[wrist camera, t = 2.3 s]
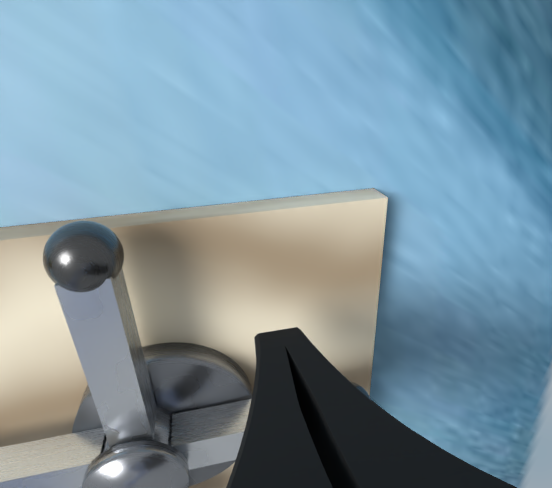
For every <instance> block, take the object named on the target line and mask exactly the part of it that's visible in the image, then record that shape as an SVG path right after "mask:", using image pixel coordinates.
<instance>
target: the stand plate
mask: <svg viewBox="0 0 552 488" xmlns="http://www.w3.org/2000/svg"><path fill="white" fill-rule="evenodd" d="M387 202H388V197H386V196H385V195H383V194H382V193H380V192H379V191H377V190H376V189H374V188H372V189H362V190H353V191H343V192H334V193H324V194H315V195H305V196H296V197H286V198H276V199H267V200H257V201H248V202H238V203H229V204H219V205H210V206H200V207H191V208H181V209H172V210H162V211H153V212H143V213H134V214H124V215H115V216H105V217H96V218H86V219H77V220H67V221H58V222H48V223H38V224H29V225H19V226H10V227H0V447H5V446H10V445H15V444H20V443H26V442H31V441H36V440H41V439H46V438H51V437H57V436H62V435H67V434H72V429H73V424H74V421H75V418H76V415H77V412H78V409H79V406H80V403H81V399H82V396H83V393H84V391H85V389H86V387H87V385H88V383H87V380H86V377H85V374H84V371H83V368H82V365H81V362H80V360H79V357H78V354H77V351H76V348H75V345H74V342H73V339H72V336H71V334H70V331H69V328H68V325H67V322H66V319H65V316H64V313H63V310H62V307H61V305H60V302H59V299H58V296H57V293H56V290H55V287H54V285H55V283H54V282H53V281H52V280H51V279H50V278H49V276H48V275H47V273H46V271H45V268H44V265H43V250H44V246H45V244H46V242H47V240H48V239H49V237H50V236H51V235H52V234H53V233H54V232H55V231H56V230H57V229H58V228H60V227H62V226H64V225H66V224H68V223H71V222H76V221H93V222H97V223H100V224H102V225H104V226H106V227H108V228H109V229H111V230H112V231H113V232H114V233H115V234H116V235H117V237H118V238H119V240H120V242H121V244H122V246H123V250H124V263H123V267H122V269H123V273H124V277H125V281H126V285H127V289H128V293H129V297H130V301H131V305H132V309H133V313H134V317H135V321H136V325H137V329H138V333H139V337H140V342H141V346H142V347H144V346H148V345H153V344H159V343H168V342H182V343H193V344H198V345H203V346H206V347H209V348H212V349H215V350H217V351H219V352H221V353H223V354H225V355H227V356H228V357H230V358H231V359H232V360H234V361H235V362H236V363H237V364H238V365H239V366H240V367H241V368H242V369H243V371H244V372H245V374H246V375H247V377H248V379H249V382H250V384H251V388H252V393H253V388H254V380H255V372H256V352H255V339H254V337H255V336H256V335H257V334H258V333H264V332H270V331H276V330H282V329H288V328H294V327H298V328H299V329H301V331H302V332H303V333H304V334H305V335H306V337H307V338H308V339H309V340H310V341H311V342H312V344H313V345H314V346H315V347H316V348H317V349H318V350H319V351H320V352H321V353H322V355H323V356H324V357H325V358H326V359H327V360H328V361H329V362H330V363H331V364H332V365H333V366H334V367H335V368H336V369H337V370H338V371H339V372H340V373H341V374H342V375H343V376H344V377H346V378H347V379H348V380H349V381H351V382H354V383H357V384H359V385H360V386H362V387H363V388H364V389H365V390H366V391H367V393H368V394H369V396H370V385H371V374H372V363H373V353H374V342H375V331H376V320H377V309H378V299H379V288H380V277H381V266H382V256H383V245H384V234H385V223H386V212H387ZM234 463H235V462H234ZM234 463H233V464H232V465H231V466H230V467H228V468H227V469H226V470H224V471H223V472H221V473H219V474H218V475H216V476H214V477H212V478H210V479H208V480H206V481H203V482H201V483H198V484H195V485H192V486H189V488H226V486H227V484H228V481H229V478H230V475H231V473H232V470H233V467H234Z"/></svg>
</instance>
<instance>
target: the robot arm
mask: <svg viewBox="0 0 552 488" xmlns="http://www.w3.org/2000/svg"><path fill="white" fill-rule="evenodd" d="M254 339H255V352H256V372H255V380H254V388H253V394H252V399H251V404H250V409H249V414H248V418H247V422H246V426H245V430H244V434H243V438H242V441H241V445H240V448H239V451H238V454H237V457H236V460H235V463H234V467H233V470H232V473H231V475H230V478H229V481H228V484H227V486H226V488H517V487H515V486H513V485H510V484H508V483H506V482H504V481H502V480H500V479H498V478H496V477H494V476H492V475H490V474H488V473H486V472H484V471H481V470H479V469H477V468H476V467H474V466H472V465H470V464H468V463H466V462H464V461H463V460H461V459H459V458H457V457H455V456H454V455H452V454H450V453H448V452H446V451H445V450H443V449H441V448H440V447H438V446H437V445H435V444H433V443H432V442H430V441H429V440H427V439H425V438H424V437H422V436H421V435H419V434H417V433H416V432H414V431H413V430H411V429H410V428H408V427H407V426H405V425H404V424H402V423H401V422H400V421H398V420H397V419H395V418H394V417H393V416H391V415H390V414H389V413H387V412H386V411H385V410H383V409H382V408H381V407H379V406H378V405H377V404H376V403H374V402H373V401H372V400H371V399H369V398H368V397H367V396H366V395H365V394H363V393H362V392H361V391H360V390H359V389H358V388H357V387H355V386H354V385H353V384H352V383H351V382H350V381H349V380H348V379H347V378H346V377H344V376H343V375H342V374H341V373H340V372H339V371H338V370H337V369H336V368H335V367H334V366H333V365H332V364H331V363H330V362H329V361H328V360H327V359H326V358H325V357H324V356H323V355H322V353H321V352H320V351H319V350H318V349H317V348H316V347H315V346H314V345H313V344H312V342H311V341H310V340H309V339H308V338H307V337H306V335H305V334H304V333H303V332H302V331H301V329H299V328H298V327H294V328H288V329H282V330H276V331H270V332H264V333H258V334H257V335H256V336H255V337H254Z"/></svg>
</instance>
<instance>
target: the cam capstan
mask: <svg viewBox="0 0 552 488" xmlns="http://www.w3.org/2000/svg"><path fill="white" fill-rule="evenodd" d="M123 263H124V250H123V246H122V244H121V242H120V240H119V238H118V237H117V235H116V234H115V233H114V232H113V231H112V230H111V229H109V228H108V227H106V226H104V225H102V224H100V223H97V222H93V221H76V222H71V223H68V224H66V225H64V226H62V227H60V228H58V229H57V230H56V231H55V232H54V233H53V234H52V235H51V236H50V237H49V239H48V240H47V242H46V244H45V246H44V250H43V265H44V268H45V271H46V273H47V275H48V276H49V278H50V279H51V280H52V281H53V282H54V283H55V285H54V287H55V290H56V293H57V296H58V299H59V302H60V305H61V307H62V310H63V313H64V316H65V319H66V322H67V325H68V328H69V331H70V334H71V336H72V339H73V342H74V345H75V348H76V351H77V354H78V357H79V360H80V362H81V365H82V368H83V371H84V374H85V377H86V380H87V383H88V385H87V387H86V389H85V391H84V393H83V396H82V399H81V403H80V406H79V409H78V412H77V415H76V418H75V421H74V424H73V429H72V434H67V435H62V436H57V437H51V438H46V439H41V440H36V441H31V442H26V443H20V444H15V445H10V446H5V447H0V488H189V486H192V485H195V484H198V483H201V482H203V481H206V480H208V479H210V478H212V477H214V476H216V475H218V474H219V473H221V472H223V471H224V470H226V469H227V468H228V467H230V466H231V465H232V464H233V463H234V462H235V460H236V457H237V454H238V451H239V448H240V445H241V441H242V438H243V434H244V430H245V426H246V422H247V418H248V414H249V409H250V404H251V399H252V394H253V393H252V388H251V384H250V382H249V379H248V377H247V375H246V374H245V372H244V371H243V369H242V368H241V367H240V366H239V365H238V364H237V363H236V362H235V361H234V360H232V359H231V358H230V357H228V356H227V355H225V354H223V353H221V352H219V351H217V350H215V349H212V348H209V347H206V346H203V345H198V344H193V343H182V342H168V343H159V344H153V345H148V346H144V347H142V346H141V342H140V337H139V333H138V329H137V325H136V321H135V317H134V313H133V309H132V305H131V301H130V297H129V293H128V289H127V285H126V281H125V277H124V273H123V269H122V267H123ZM350 382H351V381H350ZM351 383H352V384H353V385H354V386H355V387H357V388H358V389H359V390H360V391H361V392H362V393H363V394H365V395H366V396H367V397H368V398H369V399H371V398H370V396H369V394H368V393H367V391H366V390H365V389H364V388H363V387H362V386H360V385H359V384H357V383H354V382H351Z"/></svg>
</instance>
